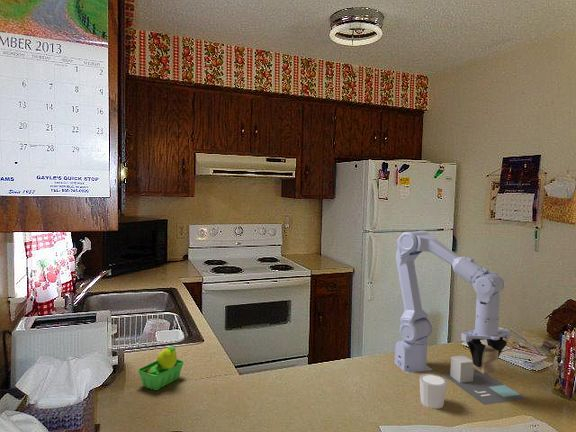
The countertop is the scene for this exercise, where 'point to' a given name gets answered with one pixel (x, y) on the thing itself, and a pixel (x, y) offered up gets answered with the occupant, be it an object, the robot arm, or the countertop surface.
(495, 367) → the maple block
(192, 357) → the countertop surface
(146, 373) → the fruit basket
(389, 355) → the countertop surface
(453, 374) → the grey block
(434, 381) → the white tapered cylinder
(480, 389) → the mat
